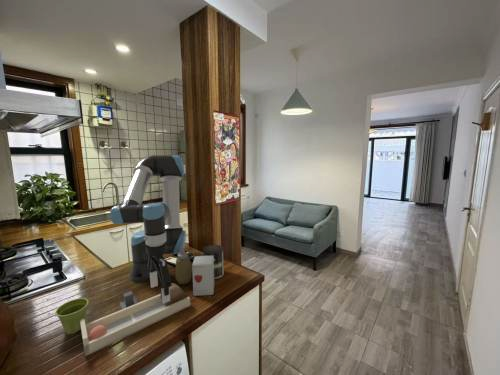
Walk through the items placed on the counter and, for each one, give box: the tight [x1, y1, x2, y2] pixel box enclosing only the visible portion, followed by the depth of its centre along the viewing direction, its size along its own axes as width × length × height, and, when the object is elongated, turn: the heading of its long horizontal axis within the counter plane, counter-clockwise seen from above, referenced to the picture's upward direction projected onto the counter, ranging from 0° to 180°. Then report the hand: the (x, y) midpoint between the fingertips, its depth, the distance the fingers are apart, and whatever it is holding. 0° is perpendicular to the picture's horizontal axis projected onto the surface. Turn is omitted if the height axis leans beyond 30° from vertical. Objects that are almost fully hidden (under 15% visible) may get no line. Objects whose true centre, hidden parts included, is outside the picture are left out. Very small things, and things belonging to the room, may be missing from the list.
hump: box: [160, 282, 186, 306], centre depth 93 cm, size 6×8×8 cm
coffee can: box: [202, 244, 225, 280], centre depth 116 cm, size 10×10×14 cm
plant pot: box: [54, 297, 90, 335], centre depth 81 cm, size 9×9×9 cm
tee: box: [119, 290, 139, 310], centre depth 93 cm, size 6×6×5 cm
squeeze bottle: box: [174, 246, 193, 285], centre depth 109 cm, size 8×8×18 cm
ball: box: [89, 325, 107, 341], centre depth 74 cm, size 5×5×5 cm
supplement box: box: [191, 255, 215, 297], centre depth 103 cm, size 9×9×15 cm
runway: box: [80, 293, 191, 357], centre depth 85 cm, size 11×36×6 cm, turn 131°
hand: (160, 293), depth 89 cm, fingers open, 13 cm apart
